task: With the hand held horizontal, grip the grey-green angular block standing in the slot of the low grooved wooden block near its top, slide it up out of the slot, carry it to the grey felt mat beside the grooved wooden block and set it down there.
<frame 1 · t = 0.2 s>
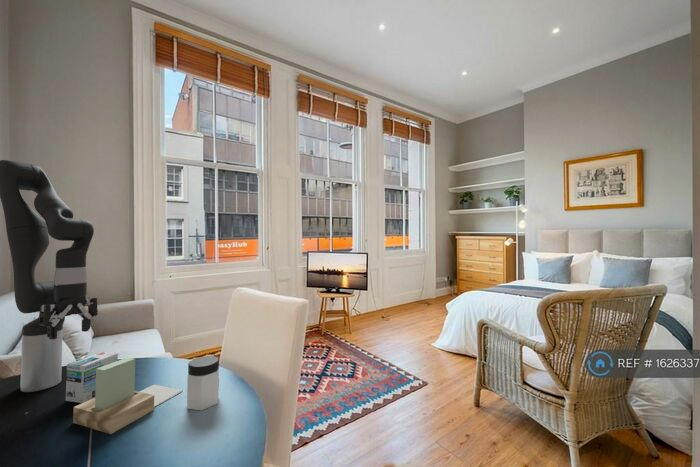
hand: (69, 335, 93), 18 cm above the table, tool pointing down, fingers open, 8 cm apart
light bulb box: (92, 394, 92), on the table
grey-green angular block: (115, 389, 81), in the grooved wooden block
jar: (203, 403, 88), on the table
mat: (153, 396, 91), on the table
grooved wooden block: (115, 416, 81), on the table
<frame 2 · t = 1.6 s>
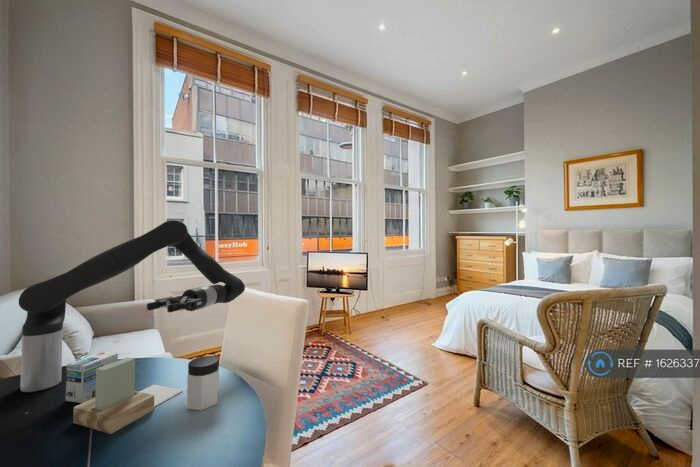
hand: (157, 308, 92), 26 cm above the table, tool horizontal, fingers open, 8 cm apart
nothing on the table moved.
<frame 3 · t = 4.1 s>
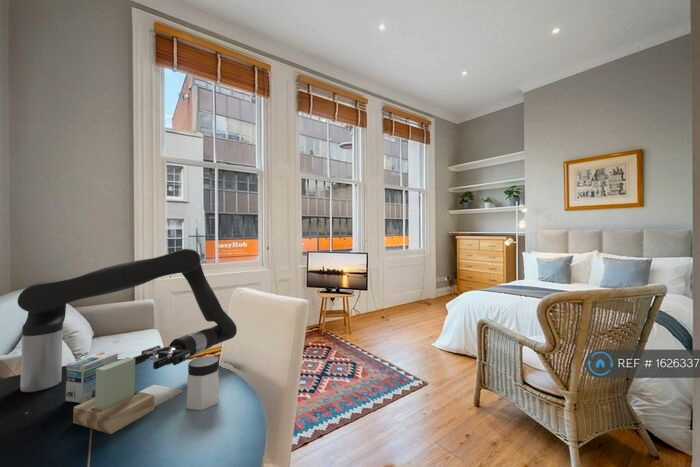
hand: (143, 363, 88), 11 cm above the table, tool horizontal, fingers open, 8 cm apart
nothing on the table moved.
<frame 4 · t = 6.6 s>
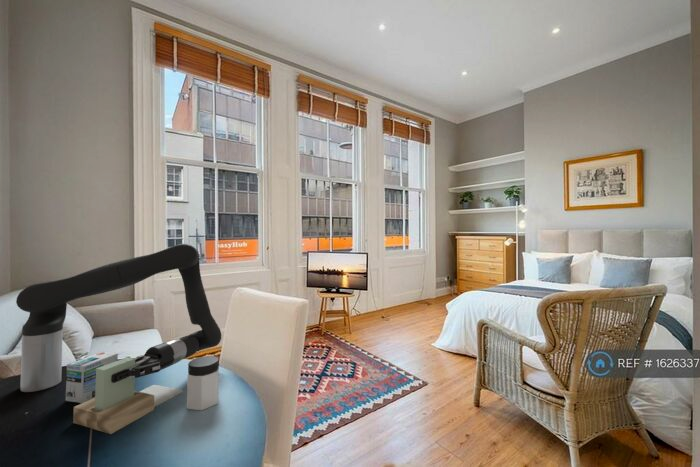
hand: (107, 377, 79), 11 cm above the table, tool horizontal, fingers closed on grey-green angular block, 3 cm apart
grey-green angular block: (115, 389, 81), in the grooved wooden block, touching gripper
everything else where it was.
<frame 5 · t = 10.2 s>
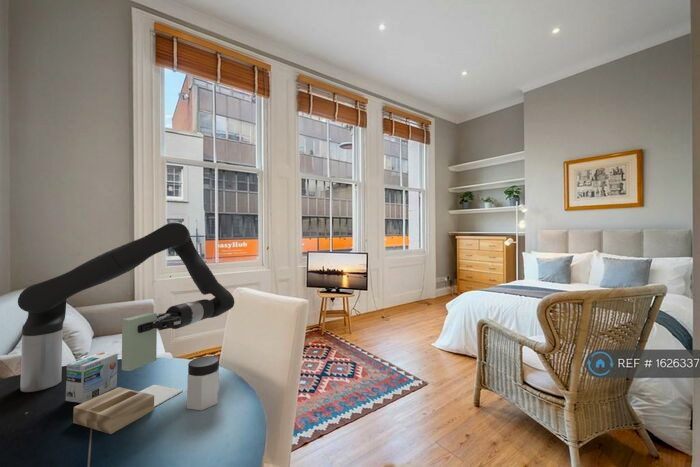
hand: (134, 328, 86), 22 cm above the table, tool horizontal, fingers closed on grey-green angular block, 3 cm apart
grey-green angular block: (139, 340, 87), point 18 cm above the table, touching gripper
everything else where it was.
when the fingers open (12 cm above the table, at t = 13.9 s): grey-green angular block drops 2 cm, resting on mat.
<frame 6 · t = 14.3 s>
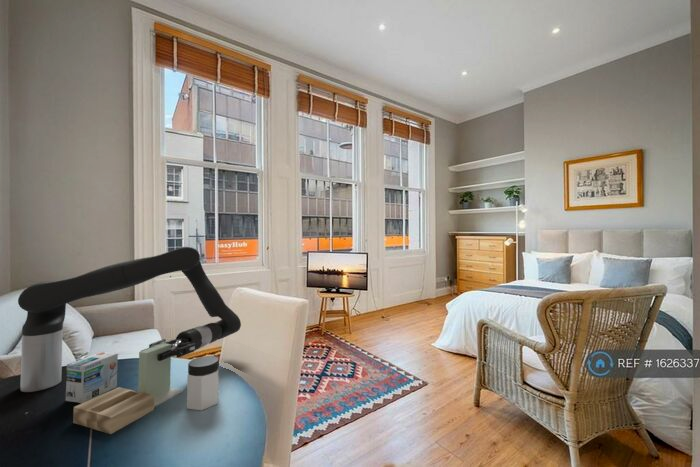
hand: (149, 356, 90), 13 cm above the table, tool horizontal, fingers open, 6 cm apart
grey-green angular block: (155, 371, 92), resting on mat
everything else where it was.
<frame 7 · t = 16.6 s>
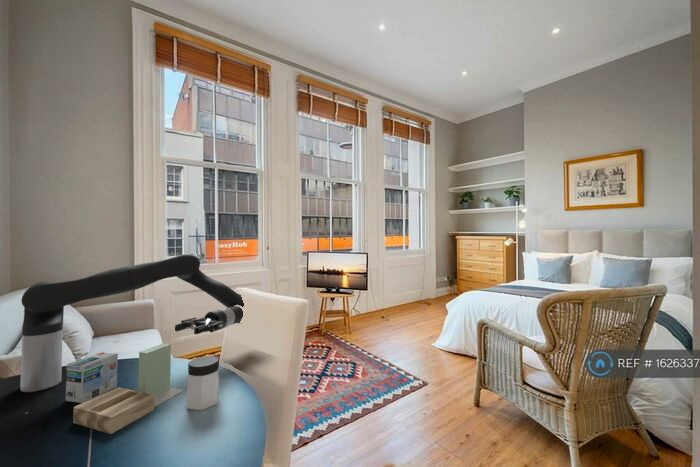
hand: (185, 329, 102), 17 cm above the table, tool horizontal, fingers open, 8 cm apart
nothing on the table moved.
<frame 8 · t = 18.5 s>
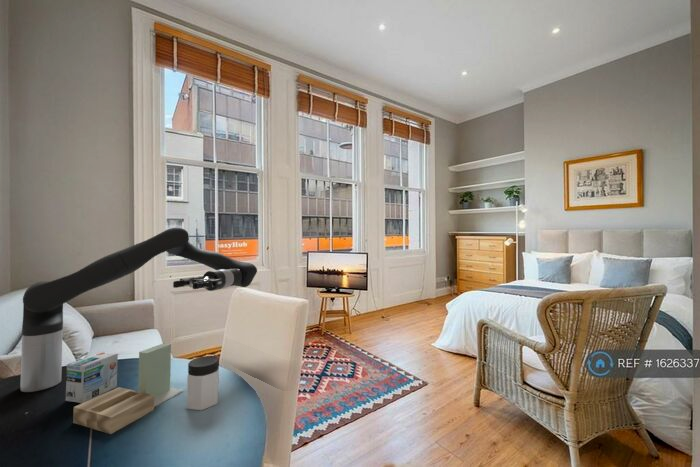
hand: (183, 285, 101), 32 cm above the table, tool horizontal, fingers open, 8 cm apart
nothing on the table moved.
at the end: grey-green angular block inside the target area (0.3 cm from its centre), resting on mat; grey-green angular block touching mat; the gripper is holding nothing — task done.
